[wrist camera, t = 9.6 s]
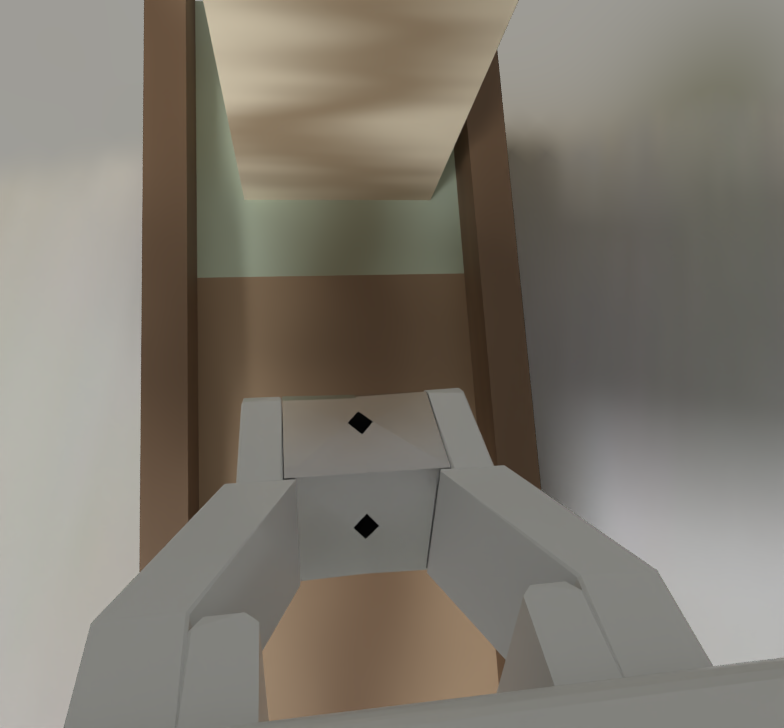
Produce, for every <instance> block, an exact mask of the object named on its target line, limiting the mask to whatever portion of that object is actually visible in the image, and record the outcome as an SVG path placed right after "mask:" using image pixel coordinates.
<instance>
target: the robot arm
mask: <svg viewBox="0 0 784 728" xmlns="http://www.w3.org/2000/svg"><path fill="white" fill-rule="evenodd" d="M415 570H427V573H428V575H429V576H430V577H431V578H432V579H433V580H434V581H435V582H436V583H437V584H438V586H439V587H440V588H441V589H442V590H443V591H444V592H445V593H446V594H447V596H448V597H449V598H450V599H451V600H452V601H453V602H454V603H455V604H456V606H457V607H458V608H459V609H460V610H461V611H462V612H463V613H464V614H465V615H466V617H467V618H468V619H469V620H470V621H471V622H472V623H473V624H474V625H475V627H476V628H477V629H478V630H479V631H480V632H481V633H482V634H483V635H484V636H485V638H486V639H487V640H488V641H489V642H490V643H491V644H492V645H493V646H494V648H495V649H496V650H497V651H498V652H499V653H500V654H501V655H502V656H503V657H504V659H505V660H506V661H505V664H504V668H503V672H502V675H501V679H500V682H499V686H498V690H497V693H494V694H486V695H478V696H470V697H462V698H453V699H445V700H437V701H429V702H421V703H413V704H404V705H396V706H388V707H380V708H372V709H363V710H355V711H347V712H339V713H331V714H323V715H314V716H306V717H298V718H290V719H282V720H273V721H269V717H268V707H267V697H266V687H265V676H264V666H263V656H262V651H263V649H264V647H265V646H266V644H267V642H268V640H269V639H270V637H271V635H272V633H273V632H274V630H275V628H276V626H277V625H278V623H279V621H280V620H281V618H282V616H283V614H284V613H285V611H286V609H287V607H288V606H289V604H290V602H291V600H292V599H293V597H294V595H295V593H296V592H297V590H298V588H299V587H300V581H306V580H315V579H323V578H332V577H340V576H349V575H357V574H368V573H383V572H399V571H415ZM64 728H784V658H777V659H768V660H760V661H752V662H744V663H736V664H728V665H720V666H713V665H712V663H711V662H710V660H709V658H708V656H707V655H706V653H705V651H704V650H703V648H702V646H701V644H700V643H699V641H698V639H697V638H696V636H695V634H694V632H693V631H692V629H691V627H690V626H689V624H688V622H687V621H686V619H685V617H684V615H683V614H682V612H681V610H680V609H679V607H678V605H677V603H676V602H675V600H674V598H673V597H672V595H671V593H670V591H669V590H668V588H667V586H666V585H665V583H664V581H663V579H662V578H661V576H660V574H659V573H658V571H657V570H656V569H654V568H653V567H651V566H650V565H649V564H647V563H646V562H644V561H643V560H641V559H640V558H638V557H637V556H636V555H634V554H633V553H631V552H630V551H628V550H627V549H625V548H624V547H622V546H621V545H620V544H618V543H617V542H615V541H614V540H612V539H611V538H609V537H608V536H606V535H605V534H604V533H602V532H601V531H599V530H598V529H596V528H595V527H593V526H592V525H590V524H589V523H588V522H586V521H585V520H583V519H582V518H580V517H579V516H577V515H576V514H575V513H573V512H572V511H570V510H569V509H567V508H566V507H564V506H563V505H561V504H560V503H559V502H557V501H556V500H554V499H553V498H551V497H550V496H548V495H547V494H545V493H544V492H543V491H541V490H540V489H538V488H537V487H535V486H534V485H532V484H531V483H529V482H528V481H527V480H525V479H524V478H522V477H521V476H519V475H518V474H516V473H515V472H514V471H512V470H511V469H509V468H508V467H506V466H505V465H501V466H494V465H493V462H492V460H491V457H490V455H489V452H488V450H487V448H486V445H485V443H484V440H483V438H482V435H481V433H480V431H479V428H478V426H477V423H476V421H475V418H474V416H473V413H472V411H471V409H470V406H469V404H468V401H467V399H466V396H465V394H464V391H462V390H461V389H460V388H449V389H435V390H424V392H406V393H387V394H368V395H321V396H282V400H281V398H280V397H261V398H244V399H243V402H242V404H241V416H240V431H239V447H238V462H237V477H236V483H230V484H224V485H223V486H222V487H221V488H220V489H219V490H218V491H217V492H216V493H215V494H214V495H213V496H212V497H211V499H210V500H209V501H208V502H207V503H206V504H205V505H204V506H203V507H202V508H201V509H200V510H199V511H198V512H197V513H196V514H195V515H194V516H193V517H192V518H191V519H190V520H189V522H188V523H187V524H186V525H185V526H184V527H183V528H182V529H181V530H180V531H179V532H178V533H177V534H176V535H175V536H174V537H173V538H172V539H171V540H170V541H169V542H168V543H167V545H166V546H165V547H164V548H163V549H162V550H161V551H160V552H159V553H158V554H157V555H156V556H155V557H154V558H153V559H152V560H151V561H150V562H149V563H148V564H147V565H146V566H145V568H144V569H143V570H142V571H141V572H140V573H139V574H138V575H137V576H136V577H135V578H134V579H133V580H132V581H131V582H130V583H129V584H128V585H127V586H126V587H125V588H124V589H123V591H122V592H121V593H120V594H119V595H118V596H117V597H116V598H115V599H114V600H113V601H112V602H111V603H110V604H109V605H108V606H107V607H106V608H105V609H104V610H103V611H102V612H101V614H100V615H99V616H98V617H97V618H96V619H95V620H94V621H93V622H92V623H91V625H90V629H89V633H88V637H87V641H86V644H85V648H84V652H83V656H82V660H81V663H80V667H79V671H78V675H77V679H76V683H75V686H74V690H73V694H72V698H71V702H70V705H69V709H68V713H67V717H66V721H65V724H64Z"/></svg>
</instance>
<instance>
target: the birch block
mask: <svg viewBox="0 0 784 728" xmlns="http://www.w3.org/2000/svg"><path fill="white" fill-rule="evenodd" d="M518 1H519V0H203V3H204V7H205V12H206V17H207V22H208V27H209V32H210V36H211V41H212V46H213V51H214V56H215V61H216V65H217V70H218V75H219V80H220V85H221V89H222V94H223V99H224V104H225V109H226V114H227V118H228V123H229V128H230V133H231V138H232V143H233V147H234V152H235V157H236V162H237V167H238V172H239V176H240V181H241V186H242V191H243V196H244V200H431V198H432V195H433V193H434V191H435V188H436V186H437V184H438V182H439V179H440V177H441V175H442V173H443V170H444V168H445V166H446V164H447V161H448V159H449V157H450V155H451V152H452V150H453V148H454V146H455V143H456V141H457V139H458V136H459V134H460V132H461V130H462V127H463V125H464V123H465V121H466V118H467V116H468V114H469V112H470V109H471V107H472V105H473V103H474V100H475V98H476V96H477V94H478V91H479V89H480V87H481V84H482V82H483V80H484V78H485V75H486V73H487V71H488V69H489V66H490V64H491V62H492V60H493V57H494V55H495V53H496V51H497V48H498V46H499V44H500V41H501V39H502V37H503V35H504V32H505V30H506V28H507V26H508V23H509V21H510V19H511V16H512V14H513V12H514V10H515V7H516V5H517V3H518Z"/></svg>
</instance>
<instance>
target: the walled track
mask: <svg viewBox="0 0 784 728" xmlns="http://www.w3.org/2000/svg"><path fill="white" fill-rule="evenodd" d="M497 54H498V53H497V51H496V53H495V55H494V57H493V60H492V62H491V64H490V66H489V69H488V71H487V73H486V75H485V78H484V80H483V82H482V84H481V87H480V89H479V91H478V94H477V96H476V98H475V100H474V103H473V105H472V107H471V109H470V112H469V114H468V116H467V118H466V121H465V123H464V125H463V127H462V130H461V132H460V134H459V136H458V139H457V141H456V143H455V146H454V148H453V150H452V152H451V155H450V157H449V159H448V161H447V164H446V166H445V168H444V170H443V173H442V175H441V177H440V179H439V182H438V184H437V186H436V188H435V191H434V193H433V195H432V198H431V200H244V196H243V191H242V186H241V181H240V176H239V172H238V167H237V162H236V157H235V152H234V147H233V143H232V138H231V133H230V128H229V123H228V118H227V114H226V109H225V104H224V99H223V94H222V89H221V85H220V80H219V75H218V70H217V65H216V61H215V56H214V51H213V46H212V41H211V36H210V32H209V27H208V22H207V17H206V12H205V7H204V3H203V1H195V0H144V91H143V97H144V98H143V212H142V335H141V457H140V572H141V571H142V570H143V569H144V568H145V566H146V565H147V564H148V563H149V562H150V561H151V560H152V559H153V558H154V557H155V556H156V555H157V554H158V553H159V552H160V551H161V550H162V549H163V548H164V547H165V546H166V545H167V543H168V542H169V541H170V540H171V539H172V538H173V537H174V536H175V535H176V534H177V533H178V532H179V531H180V530H181V529H182V528H183V527H184V526H185V525H186V524H187V523H188V522H189V520H190V519H191V518H192V517H193V516H194V515H195V514H196V513H197V512H198V511H199V510H200V509H201V508H202V507H203V506H204V505H205V504H206V503H207V502H208V501H209V500H210V499H211V497H212V496H213V495H214V494H215V493H216V492H217V491H218V490H219V489H220V488H221V487H222V486H223V485H224V484H230V483H236V477H237V462H238V447H239V431H240V416H241V404H242V402H243V399H244V398H261V397H280V398H281V400H282V396H321V395H368V394H387V393H406V392H424V390H435V389H449V388H460V389H461V390H462V391H464V394H465V396H466V399H467V401H468V404H469V406H470V409H471V411H472V413H473V416H474V418H475V421H476V423H477V426H478V428H479V431H480V433H481V435H482V438H483V440H484V443H485V445H486V448H487V450H488V452H489V455H490V457H491V460H492V462H493V465H494V466H501V465H505V466H506V467H508V468H509V469H511V470H512V471H514V472H515V473H516V474H518V475H519V476H521V477H522V478H524V479H525V480H527V481H528V482H529V483H531V484H532V485H534V486H535V487H537V488H538V489H540V490H541V484H540V474H539V464H538V454H537V444H536V434H535V424H534V414H533V404H532V394H531V384H530V373H529V363H528V353H527V343H526V333H525V323H524V313H523V303H522V293H521V283H520V273H519V263H518V253H517V243H516V233H515V223H514V213H513V203H512V193H511V183H510V173H509V163H508V153H507V143H506V133H505V123H504V113H503V103H502V93H501V83H500V73H499V63H498V55H497ZM262 656H263V666H264V676H265V687H266V697H267V707H268V717H269V721H273V720H282V719H290V718H298V717H306V716H314V715H323V714H331V713H339V712H347V711H355V710H363V709H372V708H380V707H388V706H396V705H404V704H413V703H421V702H429V701H437V700H445V699H453V698H462V697H470V696H478V695H486V694H494V693H497V690H498V686H499V682H500V679H501V675H502V672H503V668H504V664H505V661H506V660H505V659H504V657H503V656H502V655H501V654H500V653H499V652H498V651H497V650H496V649H495V648H494V646H493V645H492V644H491V643H490V642H489V641H488V640H487V639H486V638H485V636H484V635H483V634H482V633H481V632H480V631H479V630H478V629H477V628H476V627H475V625H474V624H473V623H472V622H471V621H470V620H469V619H468V618H467V617H466V615H465V614H464V613H463V612H462V611H461V610H460V609H459V608H458V607H457V606H456V604H455V603H454V602H453V601H452V600H451V599H450V598H449V597H448V596H447V594H446V593H445V592H444V591H443V590H442V589H441V588H440V587H439V586H438V584H437V583H436V582H435V581H434V580H433V579H432V578H431V577H430V576H429V575H428V573H427V570H415V571H399V572H383V573H368V574H357V575H349V576H340V577H332V578H323V579H315V580H306V581H300V587H299V588H298V590H297V592H296V593H295V595H294V597H293V599H292V600H291V602H290V604H289V606H288V607H287V609H286V611H285V613H284V614H283V616H282V618H281V620H280V621H279V623H278V625H277V626H276V628H275V630H274V632H273V633H272V635H271V637H270V639H269V640H268V642H267V644H266V646H265V647H264V649H263V651H262Z"/></svg>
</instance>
